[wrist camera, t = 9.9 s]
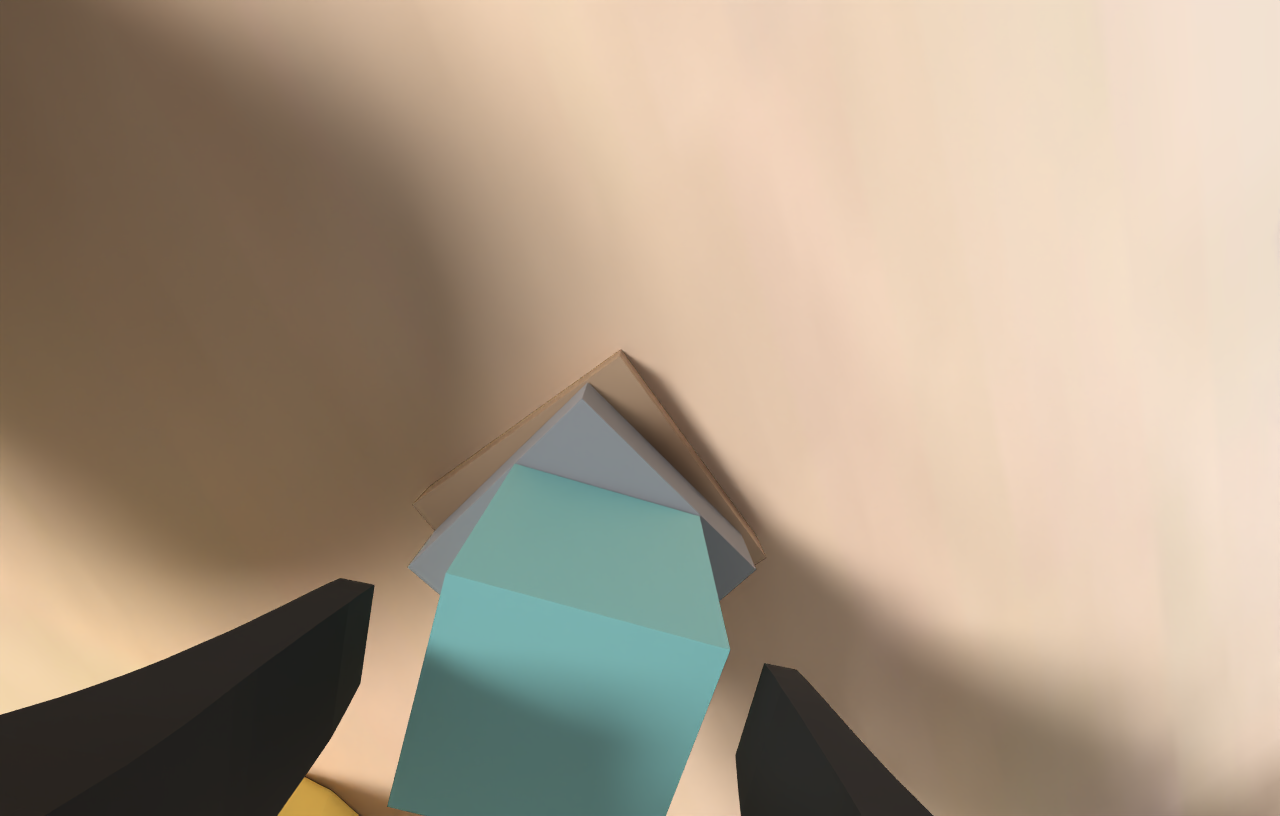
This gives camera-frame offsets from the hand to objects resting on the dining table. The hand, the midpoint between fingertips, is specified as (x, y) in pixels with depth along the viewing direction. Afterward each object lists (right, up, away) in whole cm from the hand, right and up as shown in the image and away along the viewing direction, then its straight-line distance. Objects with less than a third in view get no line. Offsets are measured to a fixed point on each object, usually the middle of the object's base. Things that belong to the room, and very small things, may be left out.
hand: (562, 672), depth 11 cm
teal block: (0, +1, +4) cm, 4 cm away
